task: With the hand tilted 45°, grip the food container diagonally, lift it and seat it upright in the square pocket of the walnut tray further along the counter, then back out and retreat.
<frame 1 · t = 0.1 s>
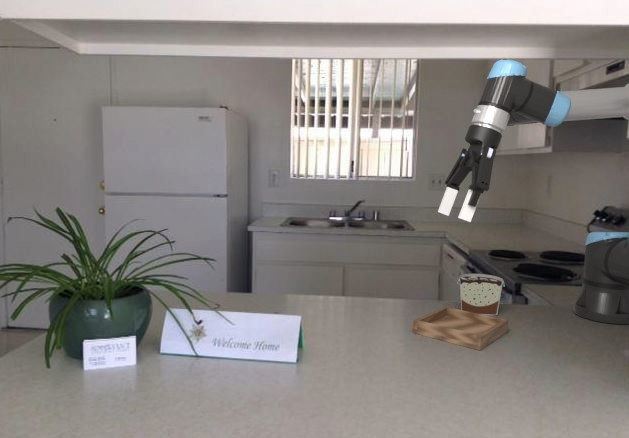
hand: (452, 216, 115), 28 cm above the worktop, tool tilted 20°, fingers open, 13 cm apart
walnut pocket tray: (460, 332, 119), on the worktop
food container: (476, 312, 137), on the worktop
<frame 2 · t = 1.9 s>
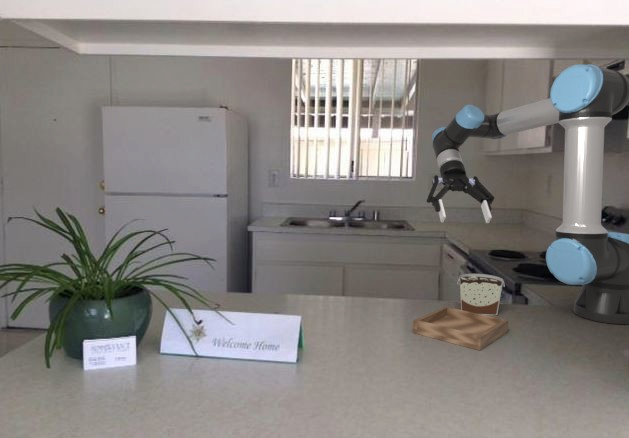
hand: (466, 220, 145), 24 cm above the worktop, tool tilted 45°, fingers open, 13 cm apart
nothing on the worktop moved.
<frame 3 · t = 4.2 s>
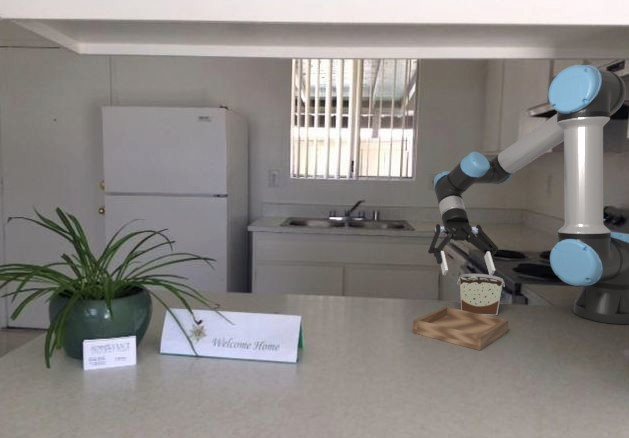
hand: (469, 273, 141), 10 cm above the worktop, tool tilted 45°, fingers open, 13 cm apart
nothing on the worktop moved.
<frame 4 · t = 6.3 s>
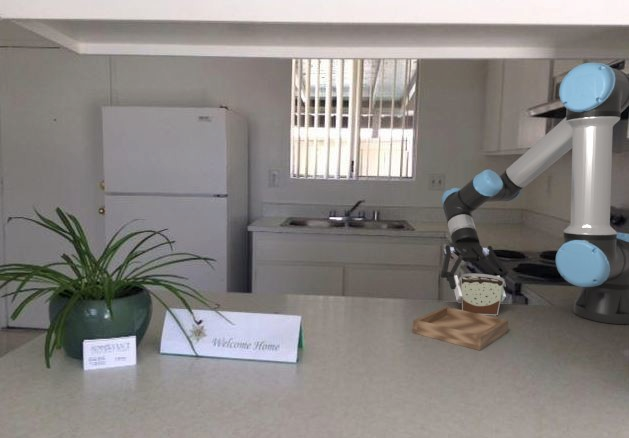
hand: (481, 298, 134), 4 cm above the worktop, tool tilted 45°, fingers closed on food container, 11 cm apart
food container: (477, 312, 137), on the worktop, touching gripper
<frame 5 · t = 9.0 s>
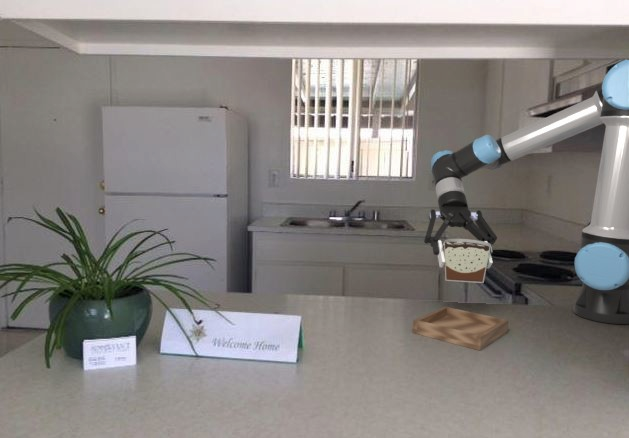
hand: (466, 265, 126), 15 cm above the worktop, tool tilted 45°, fingers closed on food container, 11 cm apart
food container: (462, 279, 129), point 10 cm above the worktop, touching gripper
when the fingers open (6 cm above the worktop, at t = 11.9 s): food container moves 1 cm, resting on walnut pocket tray.
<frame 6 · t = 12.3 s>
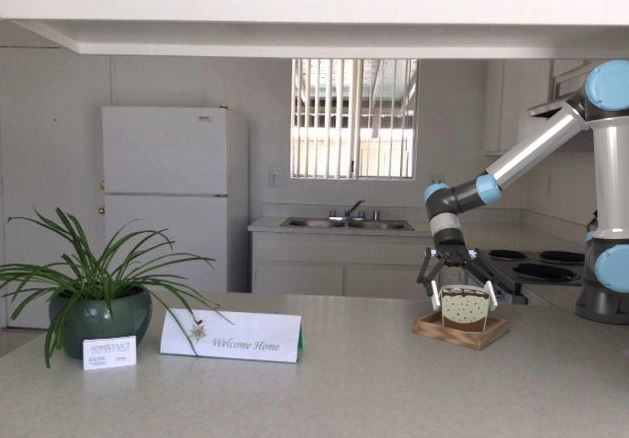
hand: (465, 308, 116), 7 cm above the worktop, tool tilted 45°, fingers open, 13 cm apart
food container: (460, 329, 119), point 1 cm above the worktop, touching gripper, walnut pocket tray
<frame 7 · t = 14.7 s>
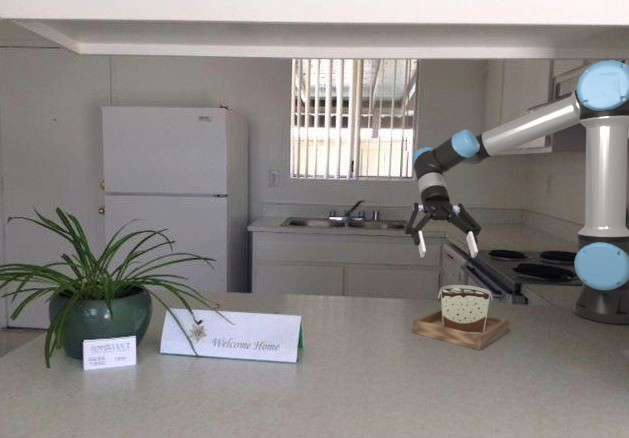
hand: (449, 254, 128), 17 cm above the worktop, tool tilted 45°, fingers open, 13 cm apart
food container: (460, 329, 119), point 1 cm above the worktop, touching walnut pocket tray
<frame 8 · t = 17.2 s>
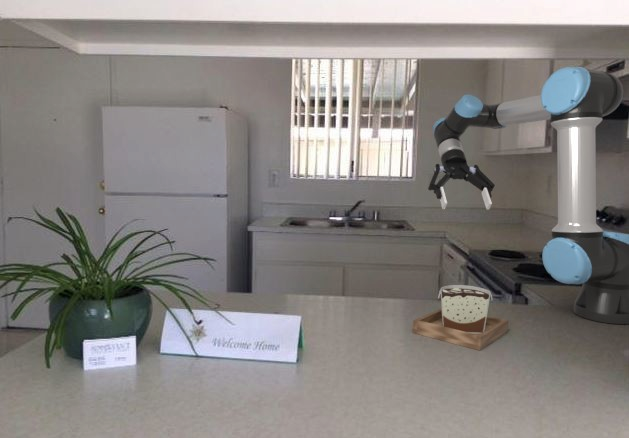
hand: (467, 206, 149), 28 cm above the worktop, tool tilted 45°, fingers open, 13 cm apart
nothing on the worktop moved.
at the end: food container 0.3 cm off-centre on the walnut pocket tray, point 0.8 cm above the walnut pocket tray's base; food container tilted 0°; the gripper is holding nothing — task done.
